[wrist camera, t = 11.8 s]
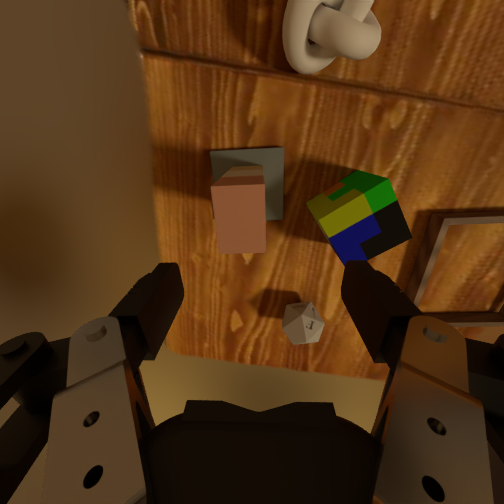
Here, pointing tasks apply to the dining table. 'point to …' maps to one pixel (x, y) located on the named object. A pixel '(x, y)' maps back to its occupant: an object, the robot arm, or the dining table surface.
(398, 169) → the dining table surface
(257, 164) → the baseplate
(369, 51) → the white knot
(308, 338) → the die
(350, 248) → the puzzle toy
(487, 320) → the tray frame
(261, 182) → the brick terracotta
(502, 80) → the dining table surface
